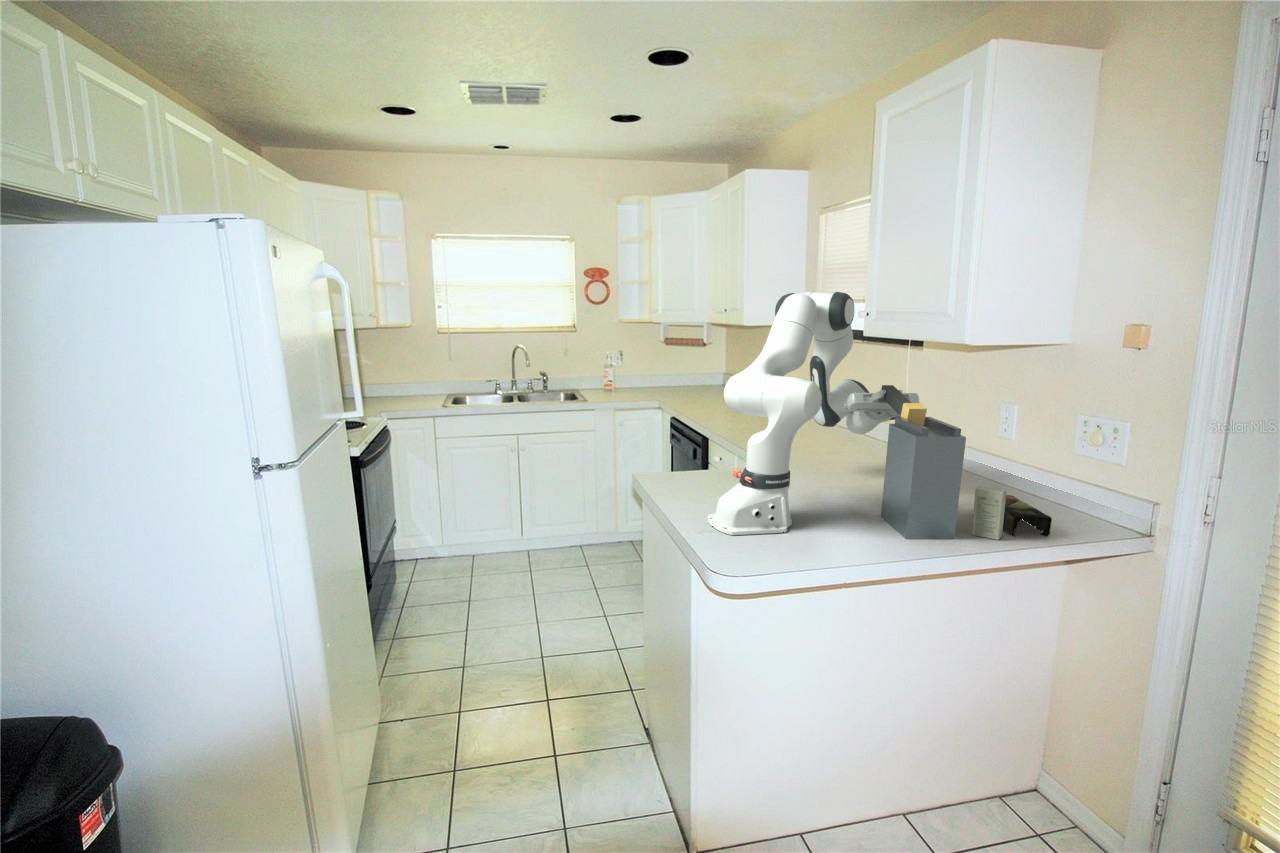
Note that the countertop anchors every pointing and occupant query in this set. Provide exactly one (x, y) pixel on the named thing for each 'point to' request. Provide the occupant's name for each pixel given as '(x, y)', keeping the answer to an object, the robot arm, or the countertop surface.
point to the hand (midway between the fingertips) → (892, 392)
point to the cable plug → (904, 405)
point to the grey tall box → (923, 478)
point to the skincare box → (988, 512)
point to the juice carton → (1024, 516)
